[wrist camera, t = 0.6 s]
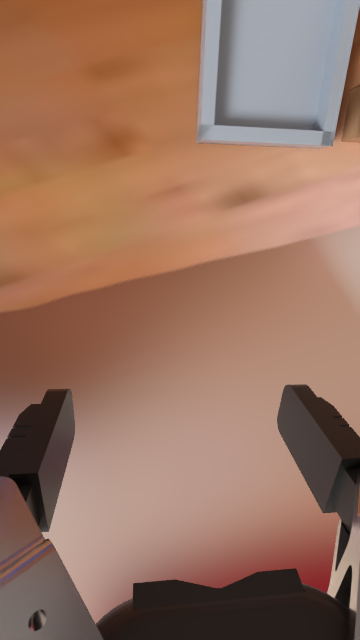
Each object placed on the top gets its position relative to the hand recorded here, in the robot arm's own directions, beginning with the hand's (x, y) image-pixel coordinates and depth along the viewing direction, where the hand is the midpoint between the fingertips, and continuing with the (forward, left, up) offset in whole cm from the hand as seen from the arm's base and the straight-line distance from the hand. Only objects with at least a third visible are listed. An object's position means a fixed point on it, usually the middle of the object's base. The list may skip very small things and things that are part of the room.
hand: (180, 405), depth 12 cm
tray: (-20, +11, -26) cm, 34 cm away
